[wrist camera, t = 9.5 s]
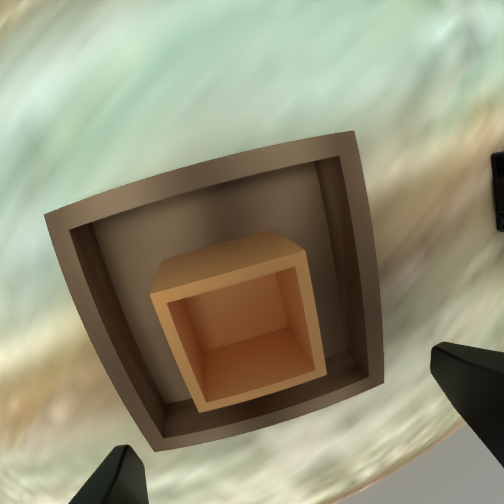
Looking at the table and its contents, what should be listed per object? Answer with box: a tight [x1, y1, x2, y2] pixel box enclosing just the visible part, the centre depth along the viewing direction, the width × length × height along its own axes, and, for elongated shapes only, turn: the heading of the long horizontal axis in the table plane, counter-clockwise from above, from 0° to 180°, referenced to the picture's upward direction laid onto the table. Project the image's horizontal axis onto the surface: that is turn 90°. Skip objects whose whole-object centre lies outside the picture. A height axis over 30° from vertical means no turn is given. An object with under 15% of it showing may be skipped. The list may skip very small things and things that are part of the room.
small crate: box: [150, 229, 327, 413], centre depth 15 cm, size 6×6×5 cm
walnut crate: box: [44, 131, 384, 452], centre depth 16 cm, size 14×14×4 cm
